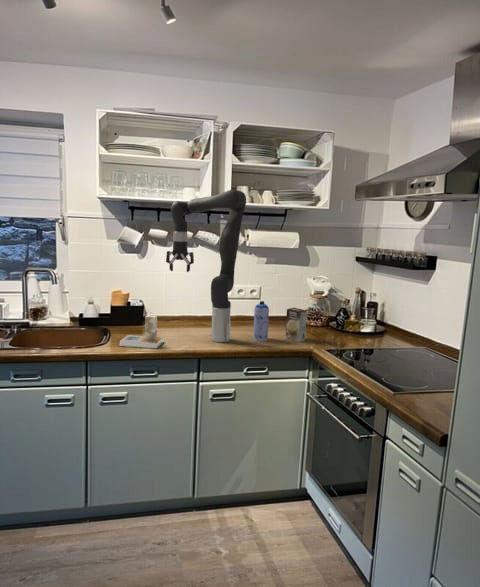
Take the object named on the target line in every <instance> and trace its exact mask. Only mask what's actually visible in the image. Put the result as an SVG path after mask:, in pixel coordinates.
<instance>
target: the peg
mask: <svg viewBox="0 0 480 587" xmlns="http://www.w3.org/2000/svg"><path fill="white" fill-rule="evenodd" d="M144 323H145V324H144V336H145V340H148V341H156V340H157V337H158V315H157V314H156V315H153V314H147V315H146V316H144Z"/></svg>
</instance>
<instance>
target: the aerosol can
mask: <svg viewBox="0 0 480 587" xmlns="http://www.w3.org/2000/svg"><path fill="white" fill-rule="evenodd" d="M269 313H270V307H269V306H268V305H267V304H265V301H262V300H261V301H259V303H258V304H256V305H255V306H254V313H253V315H254V316H253V334H252V335H253V338H252V339H253V340H254V341H256V342H266V341H268V340H269V338H268V337H269V318H270V317H269V316H270V314H269Z"/></svg>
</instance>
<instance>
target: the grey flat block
mask: <svg viewBox="0 0 480 587" xmlns="http://www.w3.org/2000/svg"><path fill="white" fill-rule="evenodd" d="M164 338H165V337H164V336H157V340H156V341H148V340H145V335H139V334H138V335H135V334H128V335H126V336H124V337H123V338H121V340H119V347H126V348H127V347H129V348H140V347H141V348H142V349H145V348H146V349H158V348H159V347H160V346H161V345H162V344H163V343H164ZM141 348H140V349H141Z"/></svg>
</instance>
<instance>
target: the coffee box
mask: <svg viewBox="0 0 480 587" xmlns="http://www.w3.org/2000/svg"><path fill="white" fill-rule="evenodd" d="M307 314H308V310H306V309H302V308H297V307H290V308H286V319H285V335H284V336H285V337H284V339H285V340H290V341H294V342H297V343H298V342H303V341H305V340H306V330H307V329H306V328H307V316H308V315H307Z"/></svg>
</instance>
